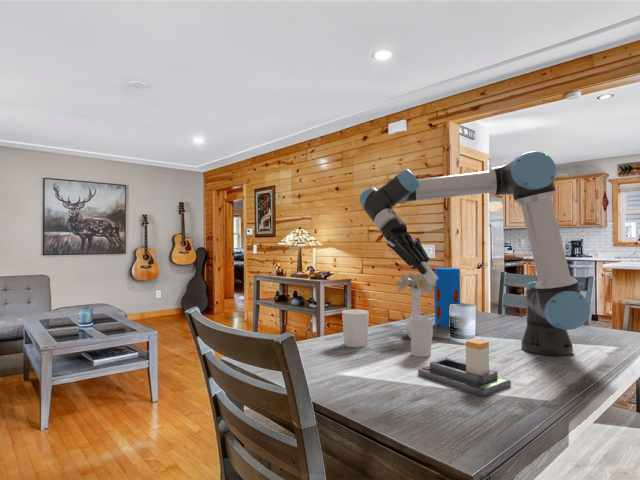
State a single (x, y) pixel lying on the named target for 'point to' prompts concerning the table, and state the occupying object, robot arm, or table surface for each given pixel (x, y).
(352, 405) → the table surface
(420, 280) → the flower vase
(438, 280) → the leaf-print blue block
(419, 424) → the table surface
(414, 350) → the mug
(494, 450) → the table surface
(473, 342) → the toggle
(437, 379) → the dark gray tray
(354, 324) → the candle holder
